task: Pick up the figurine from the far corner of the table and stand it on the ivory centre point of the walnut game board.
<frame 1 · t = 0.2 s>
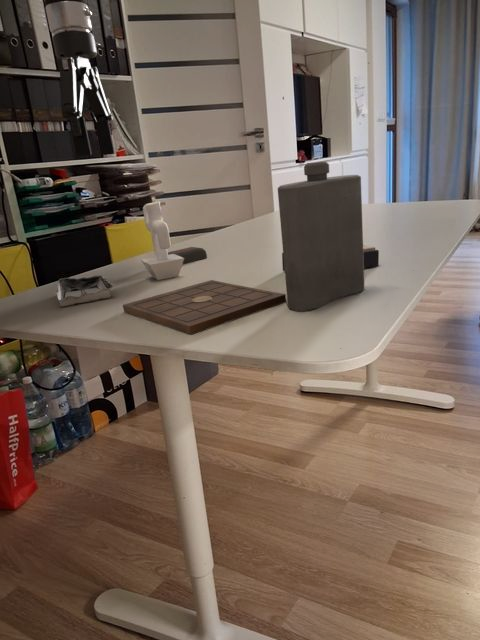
hand: (97, 155, 105), 25 cm above the table, tool pointing down, fingers open, 13 cm apart
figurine: (165, 277, 109), on the table
usb drive: (180, 263, 122), on the table
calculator: (330, 269, 100), on the table
flask: (325, 299, 81), on the table
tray: (85, 296, 99), on the table
board: (203, 306, 84), on the table
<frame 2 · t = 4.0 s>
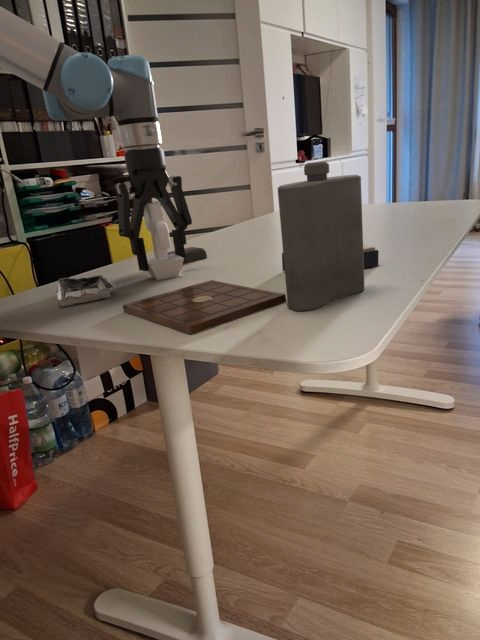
hand: (163, 265, 108), 2 cm above the table, tool pointing down, fingers closed on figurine, 8 cm apart
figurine: (165, 277, 109), on the table, touching gripper
everything else where it was.
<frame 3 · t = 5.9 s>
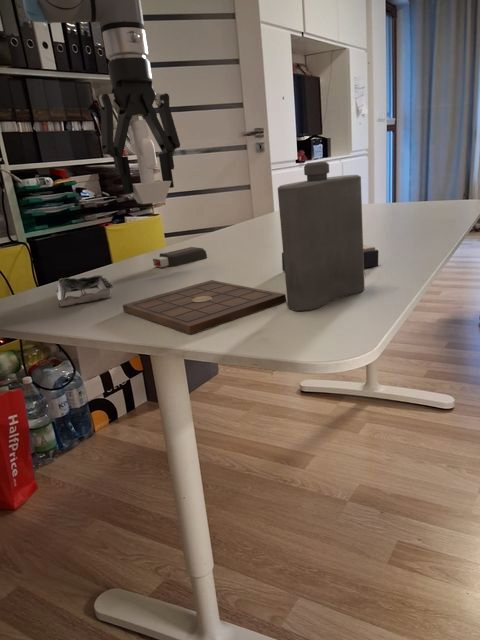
hand: (149, 190, 102), 17 cm above the table, tool pointing down, fingers closed on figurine, 8 cm apart
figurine: (151, 203, 103), point 15 cm above the table, touching gripper
everything else where it was.
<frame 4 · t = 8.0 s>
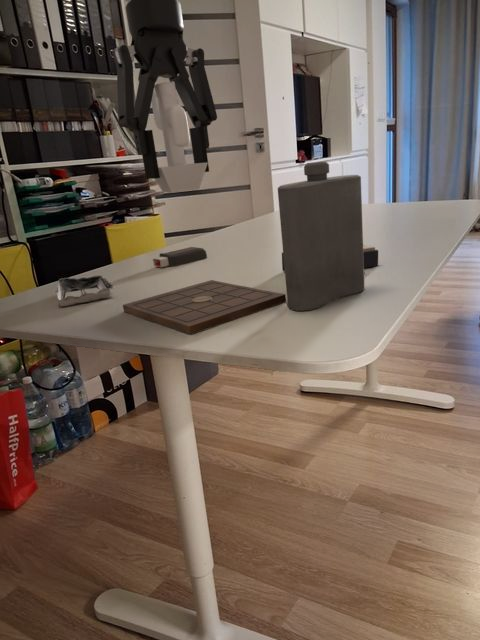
hand: (178, 175, 79), 20 cm above the table, tool pointing down, fingers closed on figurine, 8 cm apart
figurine: (181, 192, 80), point 18 cm above the table, touching gripper
everything else where it was.
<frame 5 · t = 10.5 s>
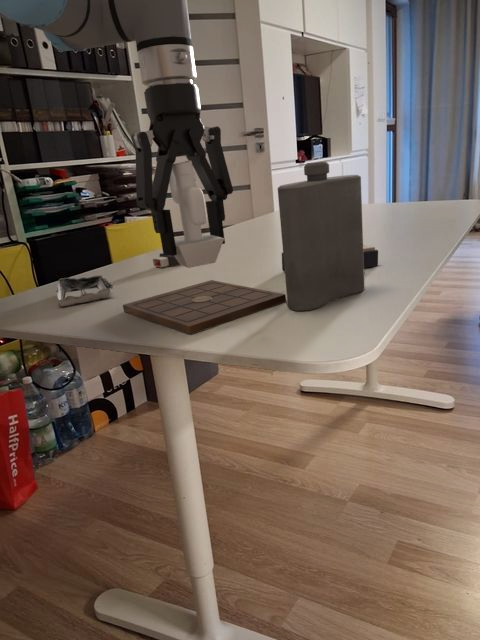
hand: (194, 248, 80), 9 cm above the table, tool pointing down, fingers closed on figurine, 8 cm apart
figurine: (197, 264, 81), point 7 cm above the table, touching gripper
everything else where it was.
when the fingers open (4 cm above the table, at t = 12.3 s): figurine stays where it is, resting on board.
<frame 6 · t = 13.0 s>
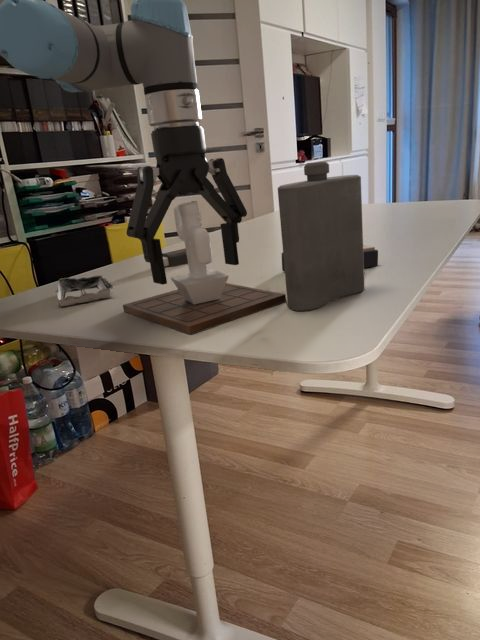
hand: (198, 273, 82), 5 cm above the table, tool pointing down, fingers open, 13 cm apart
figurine: (202, 300, 83), point 1 cm above the table, touching board
everything else where it was.
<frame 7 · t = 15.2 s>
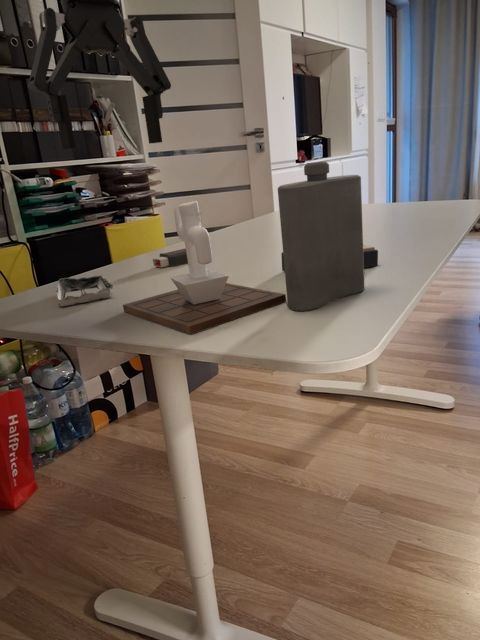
hand: (114, 145, 76), 25 cm above the table, tool pointing down, fingers open, 13 cm apart
nothing on the table moved.
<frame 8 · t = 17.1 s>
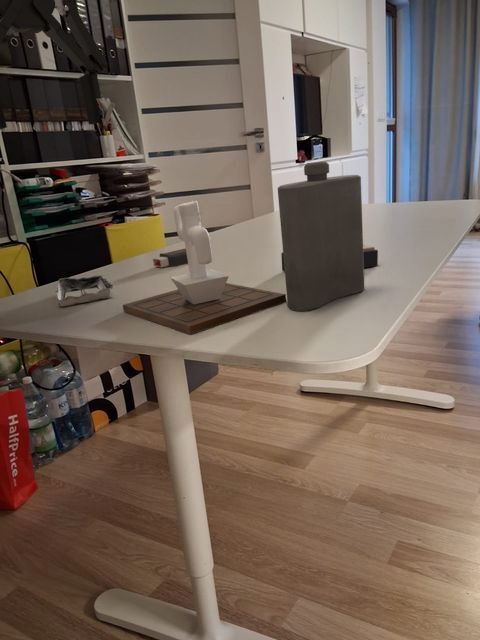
hand: (50, 126, 75), 29 cm above the table, tool pointing down, fingers open, 13 cm apart
nothing on the table moved.
at the end: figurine 0.0 cm off-centre on the board, point 1.1 cm above the board's base; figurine tilted 0°; the gripper is holding nothing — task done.
